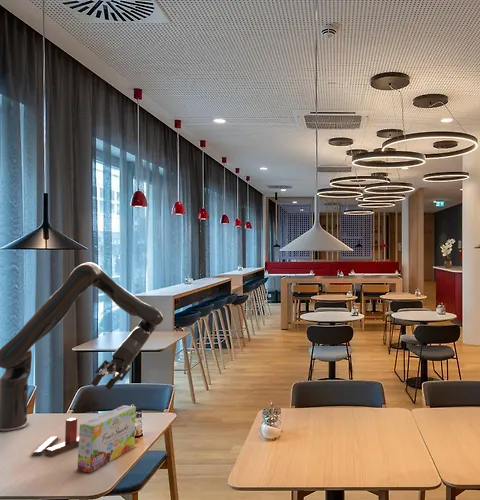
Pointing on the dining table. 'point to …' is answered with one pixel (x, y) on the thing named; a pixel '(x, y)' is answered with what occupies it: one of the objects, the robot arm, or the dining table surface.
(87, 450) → the snack box
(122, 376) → the robot arm
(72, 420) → the stamp
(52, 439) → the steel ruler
